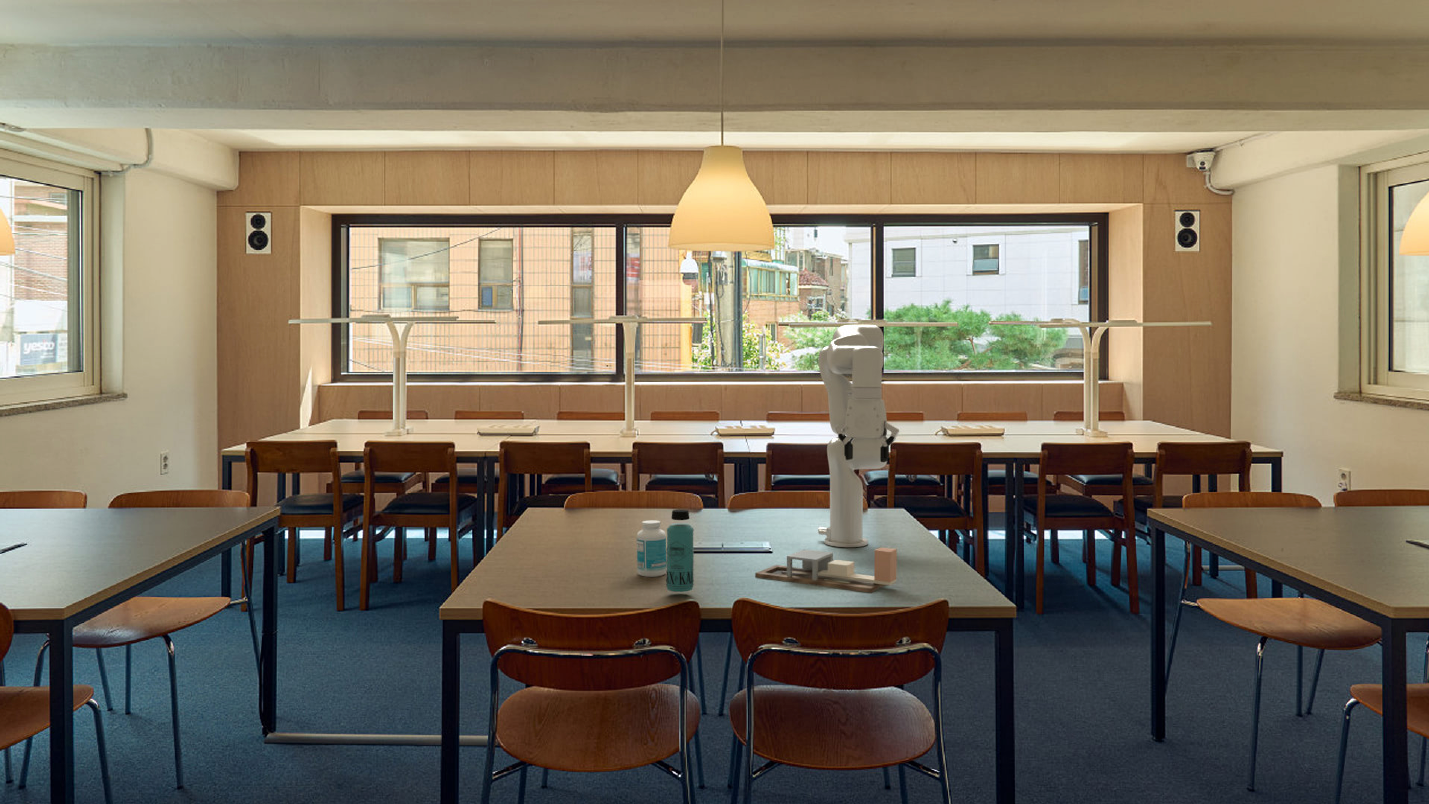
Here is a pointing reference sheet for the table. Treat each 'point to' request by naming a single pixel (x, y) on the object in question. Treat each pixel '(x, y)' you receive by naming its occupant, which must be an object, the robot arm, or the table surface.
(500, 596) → the table surface
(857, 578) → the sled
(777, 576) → the rail board
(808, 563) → the bridge tunnel
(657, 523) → the pill bottle
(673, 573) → the beverage bottle
